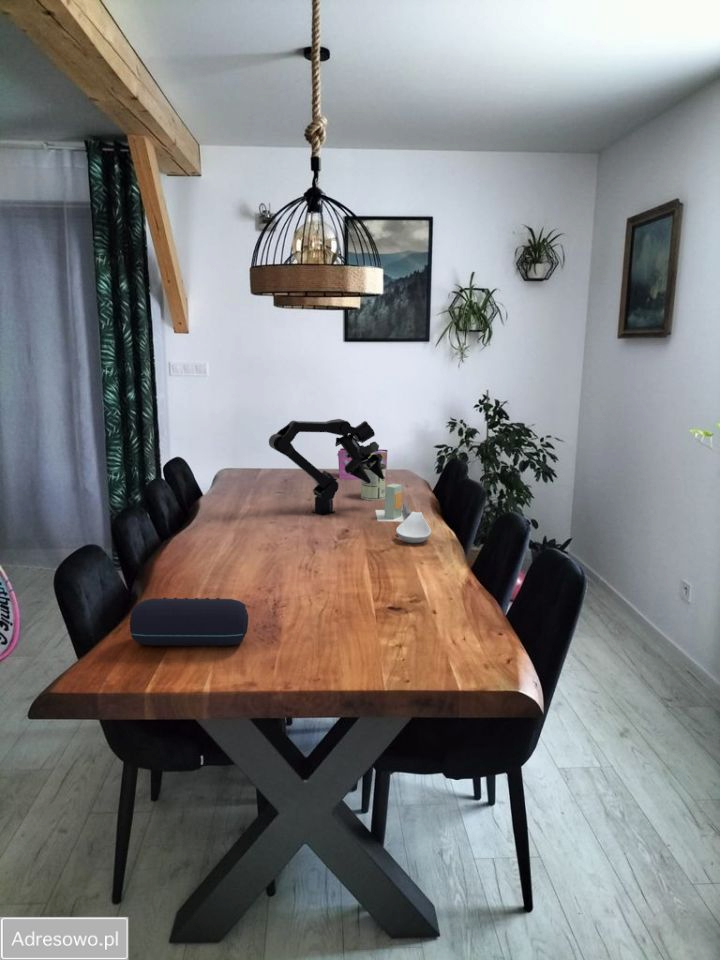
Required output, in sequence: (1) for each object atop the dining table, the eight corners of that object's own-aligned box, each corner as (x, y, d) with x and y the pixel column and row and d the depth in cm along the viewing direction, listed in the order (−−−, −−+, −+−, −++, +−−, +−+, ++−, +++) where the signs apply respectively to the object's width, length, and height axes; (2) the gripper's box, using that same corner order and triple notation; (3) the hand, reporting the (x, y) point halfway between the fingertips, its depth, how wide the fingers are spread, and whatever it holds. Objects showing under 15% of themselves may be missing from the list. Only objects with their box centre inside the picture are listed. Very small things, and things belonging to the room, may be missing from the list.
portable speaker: (251, 633, 151) (251, 592, 149) (246, 653, 142) (245, 610, 139) (140, 632, 150) (138, 591, 148) (126, 653, 141) (124, 609, 139)
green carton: (394, 519, 245) (395, 487, 242) (384, 517, 247) (385, 486, 244) (401, 516, 249) (402, 485, 247) (392, 514, 251) (393, 483, 249)
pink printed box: (336, 478, 317) (336, 450, 314) (337, 475, 324) (338, 447, 322) (386, 480, 315) (387, 452, 312) (386, 477, 323) (387, 449, 320)
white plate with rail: (411, 523, 243) (411, 513, 242) (377, 523, 242) (377, 513, 241) (406, 512, 258) (407, 502, 257) (375, 511, 258) (375, 502, 257)
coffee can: (361, 494, 286) (362, 462, 283) (385, 495, 285) (386, 463, 282) (359, 500, 276) (360, 466, 273) (384, 501, 275) (385, 467, 272)
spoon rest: (430, 547, 216) (431, 526, 215) (394, 545, 218) (394, 524, 216) (432, 527, 239) (433, 508, 237) (399, 525, 241) (400, 506, 239)
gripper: (351, 438, 241) (376, 471, 238) (379, 432, 256) (402, 464, 253) (333, 456, 247) (357, 489, 244) (361, 450, 262) (384, 481, 259)
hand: (376, 480), depth 250 cm, fingers open, 9 cm apart
